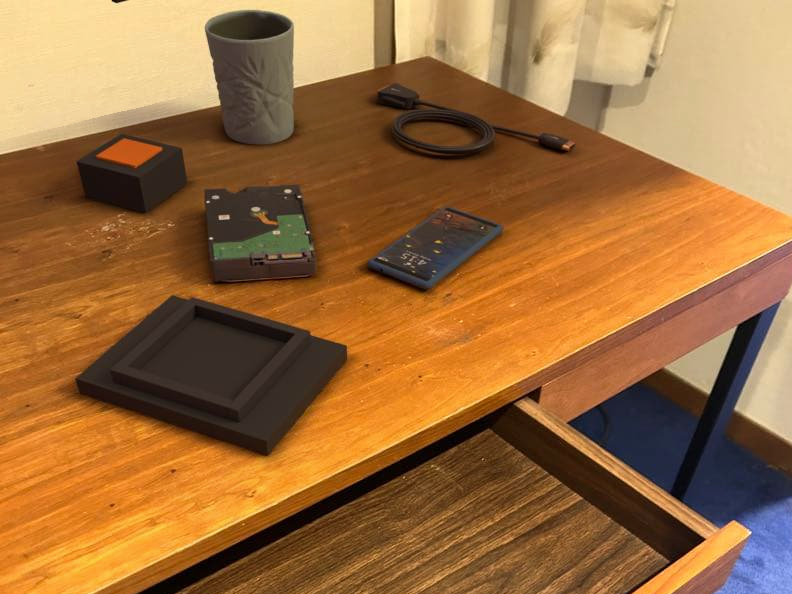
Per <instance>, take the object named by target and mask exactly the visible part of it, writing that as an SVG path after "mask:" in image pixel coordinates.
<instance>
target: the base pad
mask: <svg viewBox="0 0 792 594" xmlns="http://www.w3.org/2000/svg"><path fill="white" fill-rule="evenodd" d="M347 361H348V345H346V344H344V343H340V342H335V341H333V340H329V339H325V338H322V337H320V336H319V337H318V336H315V335H312V334H311V331H310V330H308V329H304V328H300V327H297V326H294V325H292V324H289V323H288V324H287V323H285V322H280V321H277V320H274V319H271V318H267V317H263V316H260V315H256V314H253V313H248V312H247V311H242V310H239V309H236V308H232V307H228V306H224V305H222V304H218V303H214V302H211V301H208V300H204V299H200V298H198V297H194V296H190V298H189V299H188V298H185V297H181V296H177V295H174V294H171V295H170V296H169V297H168V298H167V299H165V301H163V302H162V303H161V304H160V305H158V306H157V307H156V308H155V309H154V310H153V311H152V312H150V314H148V315H147V316H145V317H144V318H143V319H142V320H141V321H140V322H139V323H137V324H136V325H135V326H134V327H133V328H132V329H131V330H130V331H128V332H127V333H125V334H124V336H122V337H121V338H120V339H119V340H118V341H117V342H116V343H114V344H113V345H112V346H111V347H110V348H108V349H107V350H106V351H105V352H104V353H103V354H102V355H100V356H99V357H98V358H97V359H96V360H94V361H93V362H92V363H91V364H89V365H88V366H87V367H86V368H85V369H84V370H83V371H81V373H79V374H78V375H77V376H76V377H75V378H74V379H75V383H76V387H77V389H78V392H79V393H80V394H83V395H85V396H89V397H92V398H94V399H98V400H101V401H104V402H106V403H109V404H113V405H116V406H118V407H122V408H124V409H127V410H130V411H134V412H137V413H139V414H143V415H145V416H149V417H152V418H154V419H157V420H161V421H163V422H167V423H169V424H173V425H175V426H179V427H182V428H185V429H188V430H191V431H192V432H193V431H194V432H195V433H196V432H197V433H198V434H199V433H200V434H203V435H205V436H208V437H211V438H214V439H218V440H221V441H223V442H227V443H230V444H232V445H236V446H238V447H242V448H245V449H248V450H251V451H253V452H257V453H259V454H263V455H266V456H269V455H270V454H271V453H272V451H274V449H275V448H276V447H277V446H278V444H279V443H280V442H281V440H283V438H284V437H285V436H286V435H287V434H288V432H289V431H290V430H291V428H292V427H293V426H294V425H295V424H296V422H297V421H298V420H299V419H300V418H301V417H302V415H303V414H304V413H305V412H306V410H307V409H308V408H309V407H310V406H311V404H312V403H313V402H314V401H315V399H316V398H317V397H318V396H319V395H320V393H321V392H322V391H323V389H325V387H326V386H327V385H328V384H329V382H330V381H331V380H332V379H333V377H335V375H336V374H337V373H338V372H339V370H340V369H341V368H342V367H343V365H345V363H346V362H347Z"/></svg>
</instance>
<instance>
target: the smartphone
mask: <svg viewBox="0 0 792 594" xmlns="http://www.w3.org/2000/svg"><path fill="white" fill-rule="evenodd" d="M503 231H504V226H503V225H502V224H500V223H497V222H493V221H491V220H488V219H485V218H482V217H479V216H477V215H474V214H471V213H468V212H465V211H462V210H460V209H456V208H454V207H451V206H448V205H447V206H443V207H442V208H441V209H439V210H437V211H436V212H435V213H433V214H432V215H431V216H429V217H428V218H426V219H425V220H424V221H422V222H421V223H419V224H418V225H417V226H415V227H414V228H412V229H411V230H410V231H408V232H406V233H405V234H404V235H402V236H401V237H400V238H398V239H396V241H394V242H393V243H391V244H389V245H388V246H387V247H386V248H384V249H383V250H381V251H379V252H378V253H376V255H374V256H373V257H371V258H370V259H368V261H367V267H368V268H370V269H372V270H375V271H377V272H380V273H382V274H384V275H387V276H390V277H392V278H395V279H397V280H400V281H403V282H405V283H407V284H410V285H413V286H415V287H417V288H420V289H423V290H431V289H432V288H433V287H434V286H436V285H437V284H439V282H441V281H442V280H443V279H445V278H446V277H447V276H448V275H450V274H451V273H452V272H453V271H455V270H456V269H457V268H459V267H460V266H461V265H462V264H464V262H466V261H467V260H469V259H470V258H471V257H473V256H474V255H475V254H476V253H477V252H479V251H481V249H483V248H484V247H485V246H487V244H489V243H490V242H491V241H493V240H494V239H495V238H496V237H497V236H499V235H500V234H501V233H502V232H503Z"/></svg>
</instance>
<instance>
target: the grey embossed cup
mask: <svg viewBox="0 0 792 594" xmlns="http://www.w3.org/2000/svg"><path fill="white" fill-rule="evenodd" d="M204 32H205V37H206V41H207V46H208V49H209V55H210V58H211V60H212V69H213V73H214V80H215V82H216V90H217V93H218V100H219V106H220V109H221V114H222V121H223V122H222V123H223V127H224V132H225V133H226V135H227V136H228V138H229V139H231V140H233V141H235V142H239V143H241V144H247V145H255V146H256V145H257V146H259V145H271V144H276V143H279V142H283V141H285V140H287V139H288V138H290V137H291V136H292V135H293V132H294V130H295V129H294V127H295V116H294V115H295V113H294V110H293V109H294V108H293V106H294V103H295V101H294V96H295V93H294V87H295V84H294V83H295V81H294V47H295V46H294V43H295V42H294V41H295V40H294V39H295V38H294V37H295V24H294V22H293V21H292V19H290V17H288V16H286V15H284V14H281V13H278V12H274V11H268V10H260V9H239V10H233V11H232V10H231V11H228V12H224V13H220V14H217V15H215V16H212V17H211V18H209V19H208V20H207V21H206V23H205V25H204Z"/></svg>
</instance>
